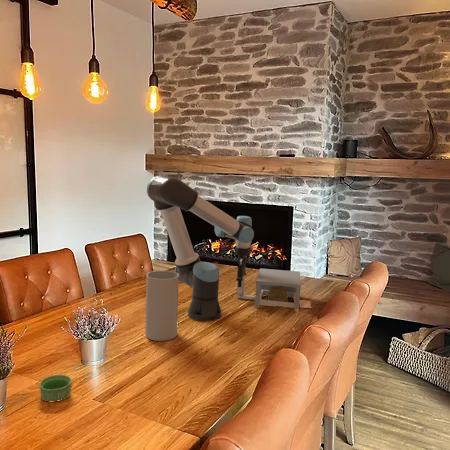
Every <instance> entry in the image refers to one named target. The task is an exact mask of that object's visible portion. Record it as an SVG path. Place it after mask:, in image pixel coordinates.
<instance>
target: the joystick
mask: <svg viewBox="0 0 450 450" xmlns="http://www.w3.org/2000/svg"><path fill="white" fill-rule="evenodd" d="M237 274H238V270H237ZM245 274H246V275H247V273H246V268H245V269H244V270H243V289H242V293H237V292H236V298H237V299H241V300H242V299H243V300H254V301H255V295H249V294H245V293H244V292H245V291H244V290H245V284H244V276H245V277H246V275H245ZM268 291H269V290H261V294H260V300H259V306H267V307H276V306H287V307H295V293H294V292H287V296H290V297H289V298H293V297H294V298H293V300H294V303H293V302H289V301H288V302H281V301H270V300H269V299H263V296H268Z"/></svg>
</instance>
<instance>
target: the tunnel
mask: <svg viewBox="0 0 450 450" xmlns="http://www.w3.org/2000/svg"><path fill="white" fill-rule="evenodd" d="M257 274H258V275H257V277H256V281H255V295H254V296H255V300H254V308H255V307H258V308H257V309H259V308H260V305H259V300H260V293H261V290H269V289H270V288H272V287H273V286H282V287H283V288H284V289H285V290H286V292H294V293H295V308H294V309H299V310H300V306H299V300H300V299H301V298H300V297H301V272H300V271H296V270H283V269H270V268H259V270H258V273H257Z"/></svg>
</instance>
